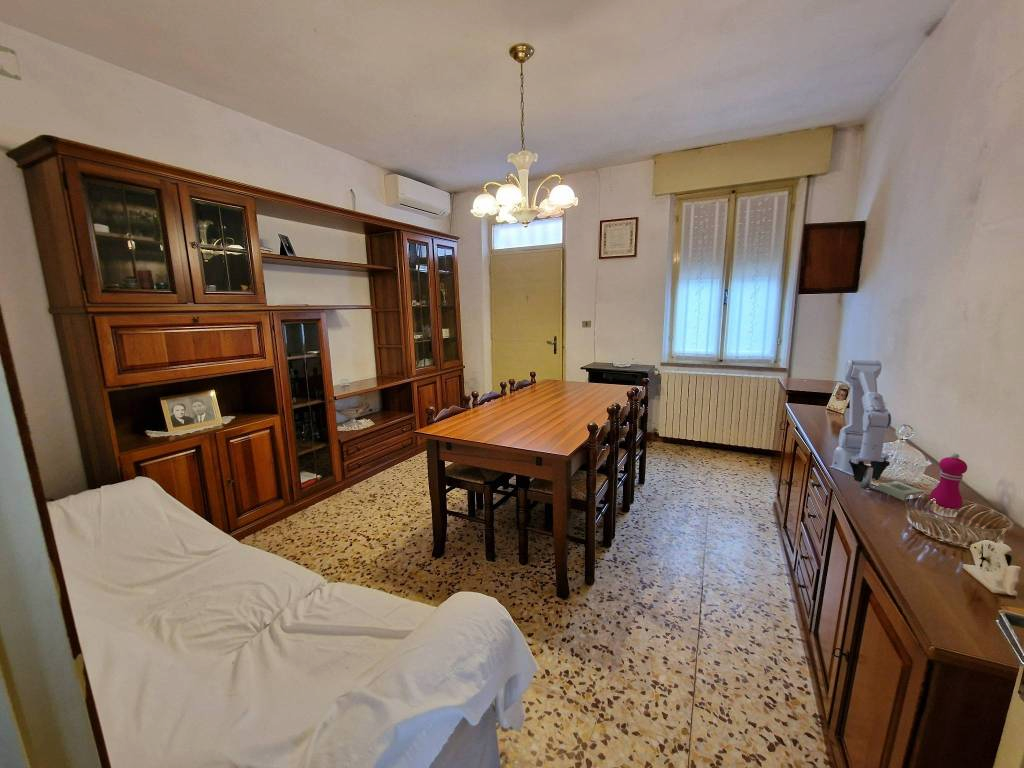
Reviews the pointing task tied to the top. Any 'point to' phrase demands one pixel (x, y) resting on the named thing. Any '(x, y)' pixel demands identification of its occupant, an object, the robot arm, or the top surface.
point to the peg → (867, 477)
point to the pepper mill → (949, 482)
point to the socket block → (899, 490)
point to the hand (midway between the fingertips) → (866, 479)
